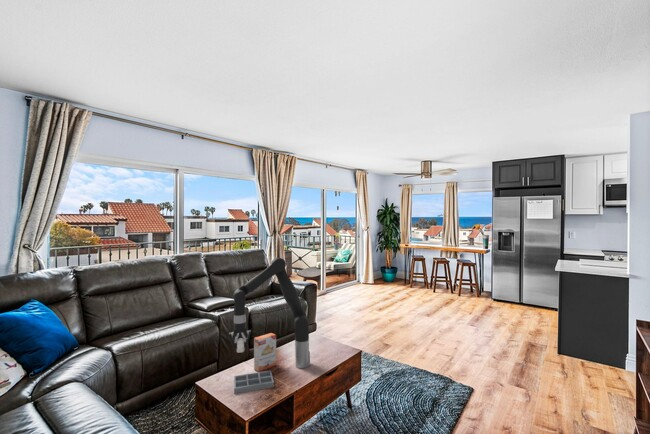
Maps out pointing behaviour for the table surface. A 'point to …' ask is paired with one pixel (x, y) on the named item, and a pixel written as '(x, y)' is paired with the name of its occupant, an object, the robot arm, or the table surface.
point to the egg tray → (253, 381)
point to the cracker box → (264, 352)
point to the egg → (240, 345)
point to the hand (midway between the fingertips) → (240, 347)
